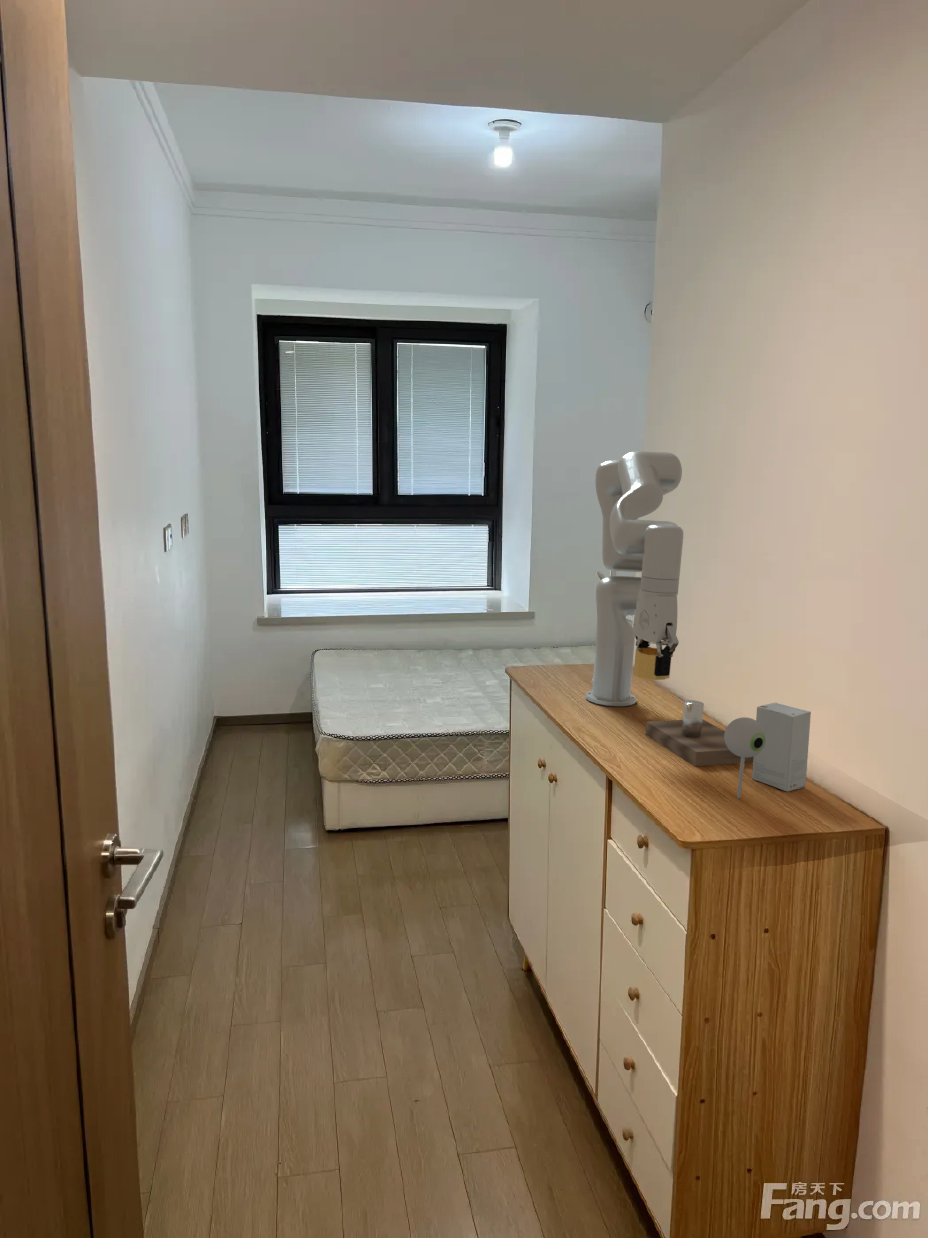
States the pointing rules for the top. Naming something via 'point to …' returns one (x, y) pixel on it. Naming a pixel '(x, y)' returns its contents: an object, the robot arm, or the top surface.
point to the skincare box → (783, 747)
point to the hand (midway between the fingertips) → (651, 669)
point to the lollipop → (744, 741)
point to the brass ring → (646, 663)
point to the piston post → (692, 719)
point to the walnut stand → (694, 743)
